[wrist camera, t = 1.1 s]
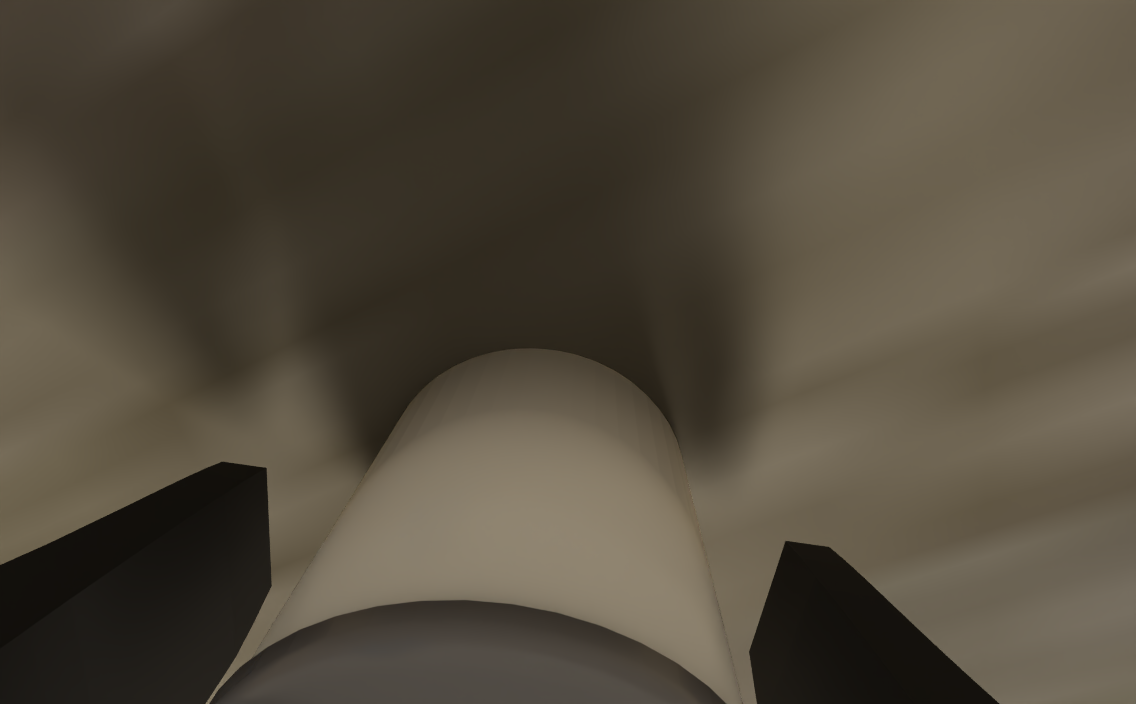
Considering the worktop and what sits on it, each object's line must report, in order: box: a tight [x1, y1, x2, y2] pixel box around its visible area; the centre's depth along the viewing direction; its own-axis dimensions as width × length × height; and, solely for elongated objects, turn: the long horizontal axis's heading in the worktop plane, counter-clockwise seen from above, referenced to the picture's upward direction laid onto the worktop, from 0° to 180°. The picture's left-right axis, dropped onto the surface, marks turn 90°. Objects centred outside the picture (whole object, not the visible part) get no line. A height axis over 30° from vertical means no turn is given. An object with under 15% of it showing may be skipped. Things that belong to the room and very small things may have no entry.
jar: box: [210, 348, 743, 704], centre depth 8 cm, size 5×5×6 cm
